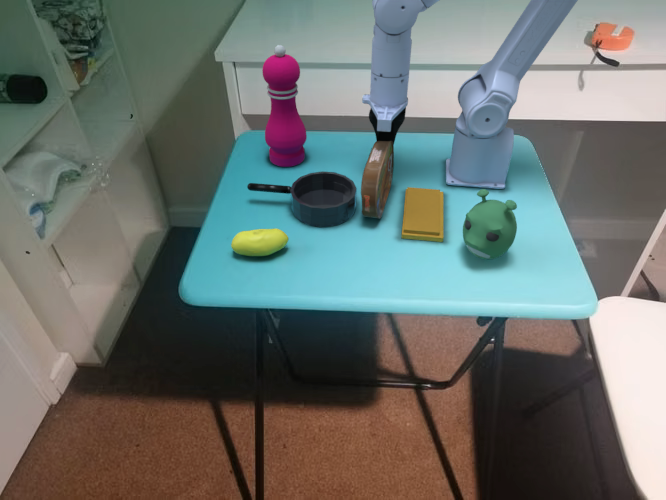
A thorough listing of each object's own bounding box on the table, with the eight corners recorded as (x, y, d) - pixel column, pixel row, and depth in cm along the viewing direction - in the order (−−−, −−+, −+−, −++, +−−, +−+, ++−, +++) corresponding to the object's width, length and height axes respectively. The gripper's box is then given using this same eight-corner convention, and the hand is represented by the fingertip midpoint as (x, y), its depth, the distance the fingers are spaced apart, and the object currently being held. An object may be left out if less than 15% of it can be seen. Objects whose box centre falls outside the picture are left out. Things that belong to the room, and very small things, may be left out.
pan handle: (293, 191, 84) (293, 184, 83) (291, 195, 83) (291, 189, 83) (248, 187, 85) (248, 181, 84) (246, 191, 84) (245, 185, 83)
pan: (359, 192, 88) (359, 174, 85) (351, 229, 80) (351, 210, 78) (299, 187, 89) (298, 169, 87) (285, 223, 81) (284, 204, 79)
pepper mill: (315, 154, 97) (311, 42, 84) (292, 172, 92) (285, 57, 80) (282, 144, 100) (274, 34, 87) (258, 161, 95) (246, 48, 82)
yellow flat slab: (442, 195, 87) (443, 188, 86) (442, 242, 78) (444, 234, 77) (405, 192, 88) (406, 185, 87) (401, 238, 78) (402, 230, 78)
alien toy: (445, 256, 75) (455, 197, 69) (476, 231, 80) (488, 174, 73) (489, 280, 72) (503, 220, 65) (519, 253, 76) (535, 194, 69)
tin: (377, 229, 80) (380, 182, 75) (357, 226, 81) (358, 179, 75) (394, 176, 91) (397, 131, 86) (376, 174, 92) (378, 129, 86)
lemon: (233, 244, 78) (230, 222, 75) (289, 241, 78) (287, 219, 76) (231, 263, 75) (228, 241, 72) (289, 260, 75) (287, 238, 72)
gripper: (368, 51, 86) (365, 128, 95) (357, 88, 75) (355, 171, 84) (412, 54, 86) (405, 131, 94) (408, 91, 75) (400, 175, 83)
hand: (385, 150), depth 89 cm, fingers closed
